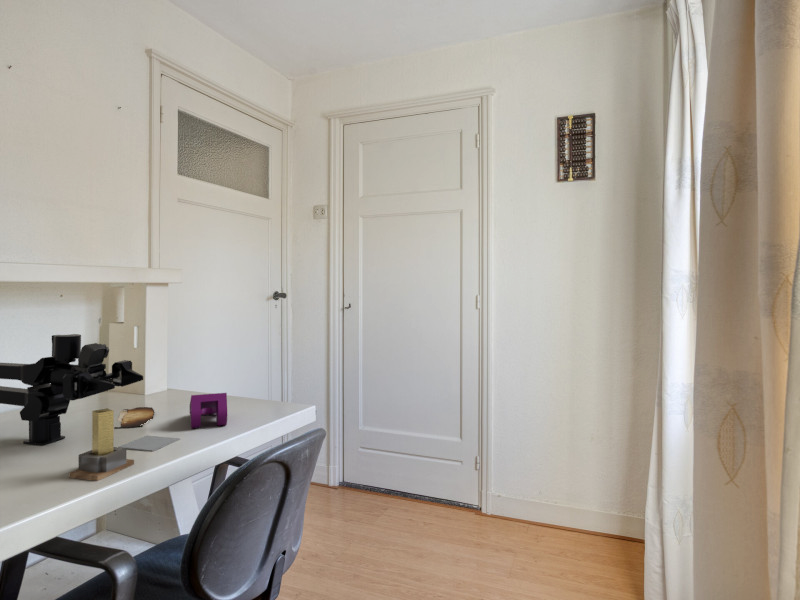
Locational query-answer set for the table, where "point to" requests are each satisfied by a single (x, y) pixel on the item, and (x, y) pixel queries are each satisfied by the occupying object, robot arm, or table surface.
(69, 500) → the table surface
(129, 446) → the felt pad
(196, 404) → the mounting bracket
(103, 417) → the yellow rectangular block
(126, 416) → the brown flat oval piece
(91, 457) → the grey block holder
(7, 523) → the table surface
